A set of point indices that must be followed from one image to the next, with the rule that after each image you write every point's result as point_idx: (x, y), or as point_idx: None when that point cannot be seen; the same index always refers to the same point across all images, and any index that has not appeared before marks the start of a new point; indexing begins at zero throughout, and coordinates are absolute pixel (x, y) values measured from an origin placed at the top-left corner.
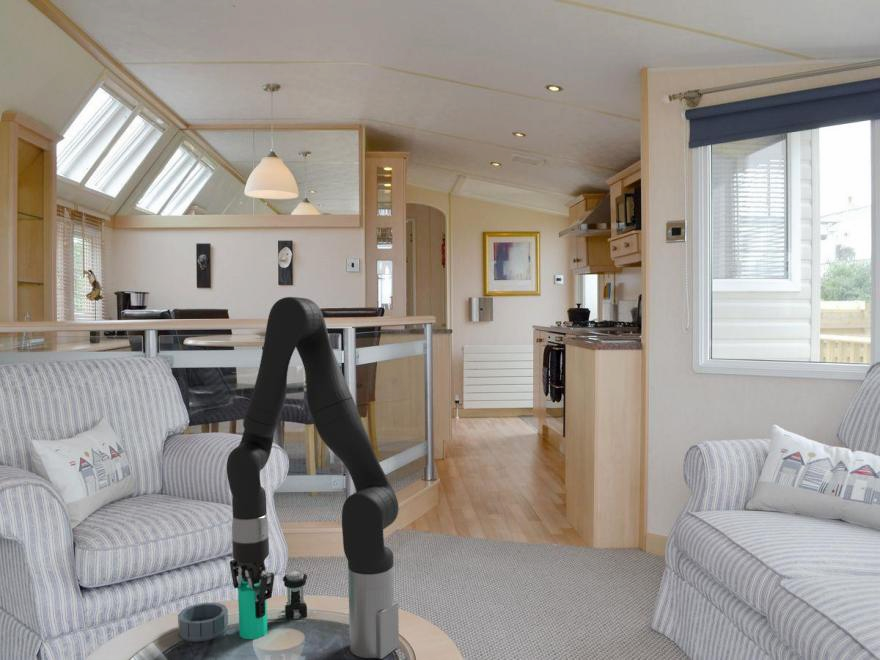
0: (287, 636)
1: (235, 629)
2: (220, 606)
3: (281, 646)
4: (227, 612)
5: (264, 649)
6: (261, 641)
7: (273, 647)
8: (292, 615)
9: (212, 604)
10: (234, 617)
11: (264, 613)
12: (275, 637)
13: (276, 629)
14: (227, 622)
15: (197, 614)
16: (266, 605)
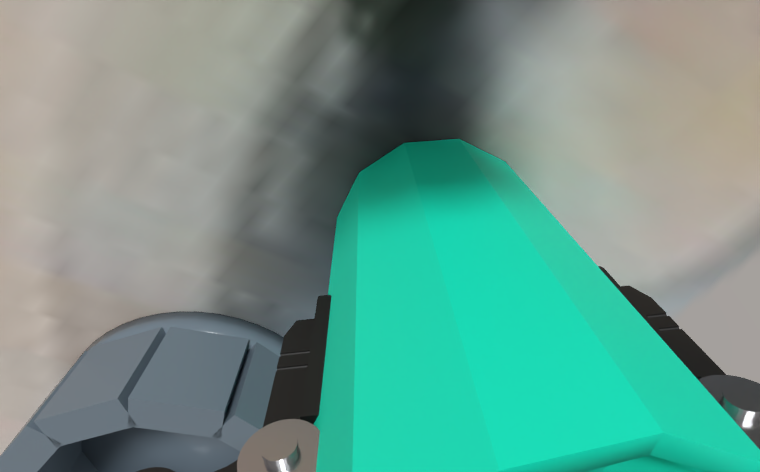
0: (676, 75)
1: (308, 296)
2: (126, 426)
3: (748, 181)
4: (241, 403)
5: (680, 274)
6: (580, 246)
7: (710, 225)
8: None
9: (51, 452)
10: (119, 233)
11: (639, 298)
12: (612, 152)
13: (513, 84)
14: (260, 354)
15: (65, 467)
16: (597, 266)
